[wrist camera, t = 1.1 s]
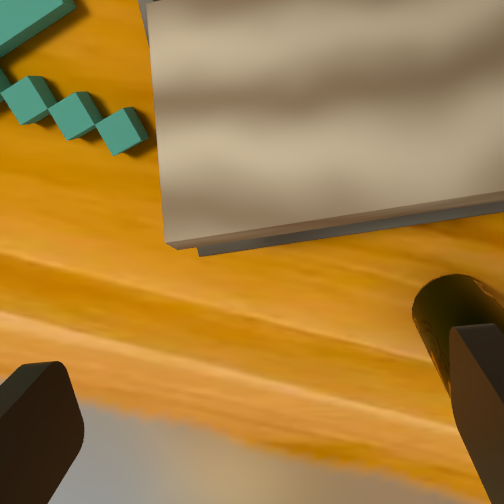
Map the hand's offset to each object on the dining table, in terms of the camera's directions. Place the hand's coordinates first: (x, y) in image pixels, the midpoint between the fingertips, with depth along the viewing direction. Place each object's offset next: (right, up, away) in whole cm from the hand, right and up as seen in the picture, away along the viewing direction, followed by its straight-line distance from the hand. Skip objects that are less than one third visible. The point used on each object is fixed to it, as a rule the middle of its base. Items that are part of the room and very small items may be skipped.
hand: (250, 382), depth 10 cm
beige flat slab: (+5, +11, +16) cm, 20 cm away
